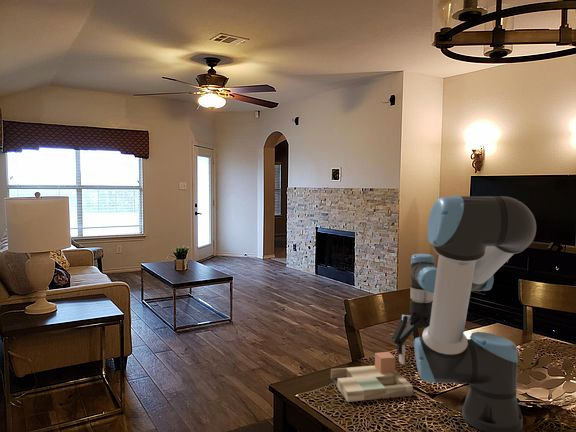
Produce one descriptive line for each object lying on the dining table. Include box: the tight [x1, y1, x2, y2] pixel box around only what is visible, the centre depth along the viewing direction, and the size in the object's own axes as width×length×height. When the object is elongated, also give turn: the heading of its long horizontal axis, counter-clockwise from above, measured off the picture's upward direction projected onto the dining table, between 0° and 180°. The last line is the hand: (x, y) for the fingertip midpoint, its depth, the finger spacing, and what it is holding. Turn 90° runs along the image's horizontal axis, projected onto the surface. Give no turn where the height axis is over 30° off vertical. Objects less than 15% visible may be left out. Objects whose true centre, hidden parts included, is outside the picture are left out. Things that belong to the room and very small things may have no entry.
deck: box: [330, 364, 414, 403], centre depth 141 cm, size 17×21×3 cm
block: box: [374, 351, 396, 373], centre depth 147 cm, size 5×5×5 cm
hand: (420, 361), depth 149 cm, fingers open, 13 cm apart
